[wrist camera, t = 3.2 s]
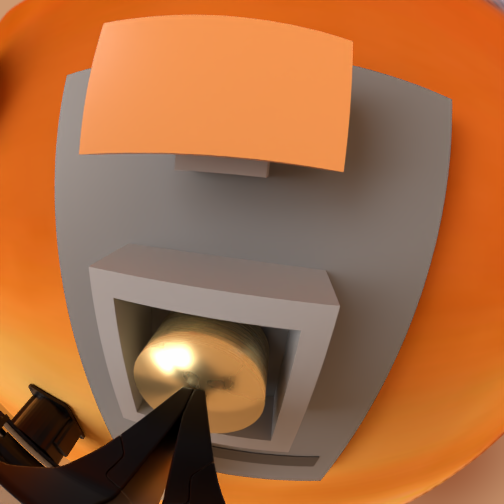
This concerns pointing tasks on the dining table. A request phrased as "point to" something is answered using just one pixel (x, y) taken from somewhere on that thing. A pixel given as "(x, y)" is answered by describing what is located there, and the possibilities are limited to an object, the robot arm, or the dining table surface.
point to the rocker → (219, 91)
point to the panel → (259, 265)
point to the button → (207, 367)
